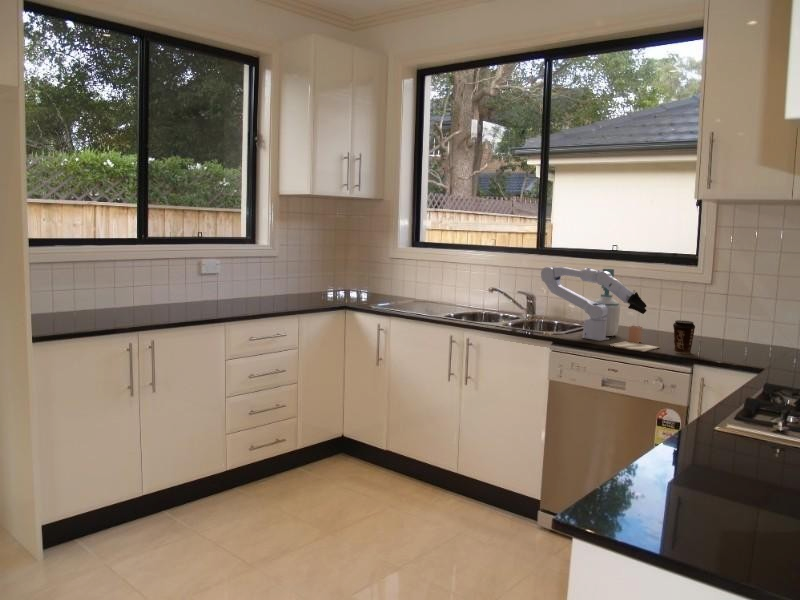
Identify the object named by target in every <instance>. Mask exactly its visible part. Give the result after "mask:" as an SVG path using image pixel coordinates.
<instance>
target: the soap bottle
mask: <svg viewBox="0 0 800 600" xmlns="http://www.w3.org/2000/svg"><path fill="white" fill-rule="evenodd" d="M603 271H607V272H610V273H611V275H612V277H614V278H615V269H614V268H602V272H603ZM601 289H602V290H603V291H604V293H602V294H600V297H599V298H597V299H595V301H593V302H597V303H599V304H605V305H606V306H608V308H609V314H608V315H607V316H606V318H607V323H606V336H612V337H614V336H615V335H617V333H618V331H619V323H620V303H619V302H618V301H617V300H615V299H614V298H613V294H610V291H609V290H608V289H607V288H606V287H605V286H603V285H601Z"/></svg>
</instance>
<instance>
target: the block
mask: <svg viewBox="0 0 800 600" xmlns="http://www.w3.org/2000/svg"><path fill="white" fill-rule="evenodd" d="M642 335H643V326H641V325H635V324H634V325H629V327H628V338H627V339H628V341H627V342H634V343H638V344H640V343H639V342H641V343H642Z"/></svg>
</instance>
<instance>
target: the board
mask: <svg viewBox="0 0 800 600" xmlns="http://www.w3.org/2000/svg"><path fill="white" fill-rule="evenodd" d="M609 345H610V346H609V347H613V346H614V347H615V348H619V349H626V350H631V351H637V352H643V353H644V352H645V353H646V352H648V351H654V350H658V349H657V348H659V349H660V348H661V347H660V346H655V345H649V344H643V343H632V342H628V341H620V342H616V343H610V344H609ZM614 347H613V348H614ZM653 349H654V350H653Z"/></svg>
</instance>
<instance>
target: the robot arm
mask: <svg viewBox="0 0 800 600" xmlns="http://www.w3.org/2000/svg"><path fill="white" fill-rule="evenodd" d="M540 276H541V277H540V278H541V281H542V282H543V283H544V285H546V287H547V288H548V290H549V291H550V293H552V294H554V295H556V296H557V297H560V298H561V299H563V300H565V301H567V302H568V303H571V304H572V305H574V306H576V307H578V308H580V309H582V310H583V311H584V313H585V314H587V315H589V318H586V319H585V320H584V322H583V329H582V330H583V332H582V336H581V338H583V339H586V340H587V339H588V340H592V341H599V342H601V341H606V340H610V337H606V323H607V318H606V316H607V315H608V314H609V308H608V306H606V305H605V304H599V303H597V302H594V301H593V300H590V299H589V298H587V297H584V296H583V295H581V294H578V293H577V292H574V291H573V290H571V289H569V288H567V287H565V286H563V285H562V282H561V280H562V279H561V278H562V277H563V276H567V277H575V278H580V280H581V281H582V282H588V283H592V284H593V283H594V284H598V285H600V286H602V285H603V286H605V287H606V288H607V289H608V290H609V292H611V293H612V295H613V296H615V297H617V298H618V299H619V300H621V301H622V302H623V303H624V304H628V307H627V308H628V309H630V310H633V311H636V312H638V313H640V314H642V315H644V314H645V313H646V312H647V307H648V306H647V304H646V302H645V301H643V299H642V298H641V297H640V294H638V292H637V291H636V289H633V290H631V289H630V288H628V287H627V286H626V285H624V284H623V283H622V282H621V281H619V280H618V279H616V278H615V276H614V277H612V275H611V273H610V272H607V271H603V270H601V269H592V268H591V267H586V268H583V269H582V270H580V269H575V268H571V267H566V266H545V267H543V268H542V270H540Z"/></svg>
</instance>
